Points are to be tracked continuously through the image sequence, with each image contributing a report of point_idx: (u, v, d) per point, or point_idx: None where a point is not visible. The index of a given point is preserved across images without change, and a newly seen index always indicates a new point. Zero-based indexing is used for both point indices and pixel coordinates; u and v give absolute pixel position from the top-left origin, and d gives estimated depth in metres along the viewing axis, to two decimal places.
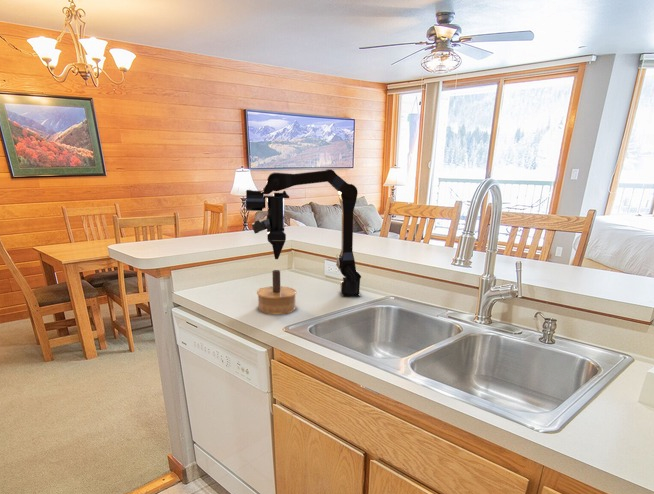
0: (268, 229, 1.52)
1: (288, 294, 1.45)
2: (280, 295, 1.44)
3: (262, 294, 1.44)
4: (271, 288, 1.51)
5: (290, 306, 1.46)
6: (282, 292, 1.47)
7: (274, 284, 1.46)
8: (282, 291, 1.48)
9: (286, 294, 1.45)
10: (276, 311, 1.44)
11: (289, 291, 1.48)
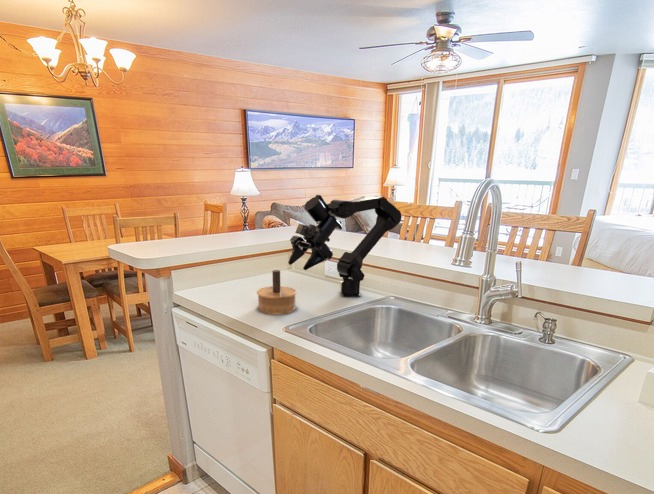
0: (314, 240, 1.46)
1: (288, 294, 1.45)
2: (280, 295, 1.44)
3: (262, 294, 1.44)
4: (271, 288, 1.51)
5: (290, 306, 1.46)
6: (282, 292, 1.47)
7: (274, 284, 1.46)
8: (282, 291, 1.48)
9: (286, 294, 1.45)
10: (276, 311, 1.44)
11: (289, 291, 1.48)
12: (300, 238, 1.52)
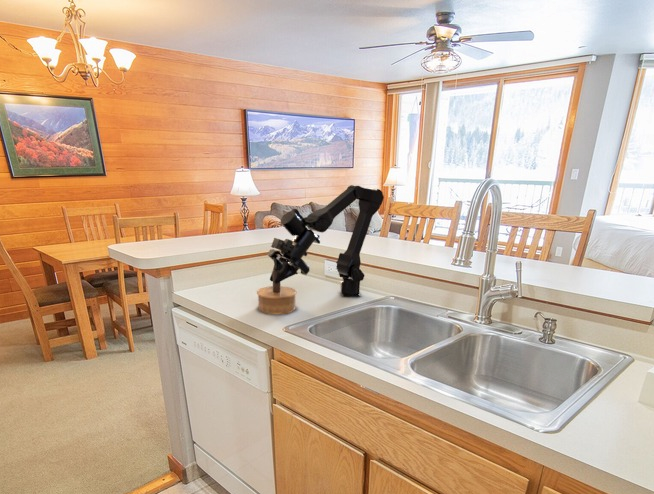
0: (290, 254, 1.42)
1: (288, 294, 1.45)
2: (280, 295, 1.44)
3: (262, 294, 1.44)
4: (271, 288, 1.51)
5: (290, 306, 1.46)
6: (282, 292, 1.47)
7: (274, 284, 1.46)
8: (282, 291, 1.48)
9: (286, 294, 1.45)
10: (276, 311, 1.44)
11: (289, 291, 1.48)
12: (277, 252, 1.49)
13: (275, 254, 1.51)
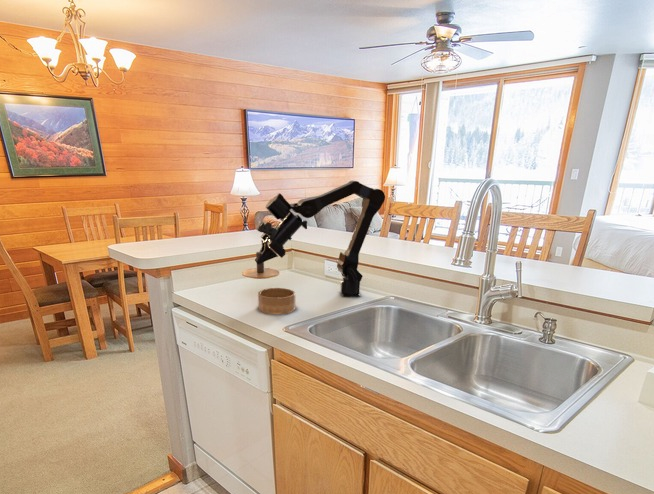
0: (271, 237, 1.48)
1: (267, 275, 1.51)
2: (258, 275, 1.51)
3: (244, 273, 1.53)
4: None
5: (290, 306, 1.46)
6: (264, 273, 1.54)
7: (257, 265, 1.53)
8: (265, 272, 1.55)
9: (265, 275, 1.51)
10: (276, 311, 1.44)
11: (271, 273, 1.54)
12: (267, 235, 1.56)
13: (268, 237, 1.58)
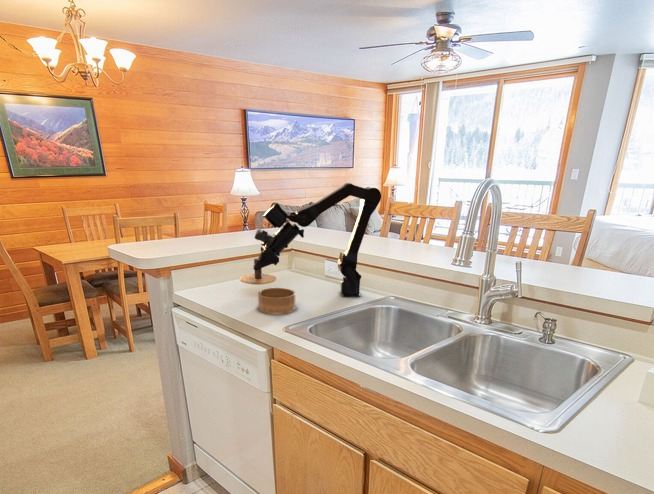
0: (267, 245, 1.53)
1: (262, 281, 1.56)
2: (254, 281, 1.56)
3: (242, 278, 1.59)
4: None
5: (290, 306, 1.46)
6: (261, 279, 1.59)
7: None
8: (262, 278, 1.60)
9: (260, 281, 1.57)
10: (276, 311, 1.44)
11: (268, 279, 1.59)
12: None
13: None
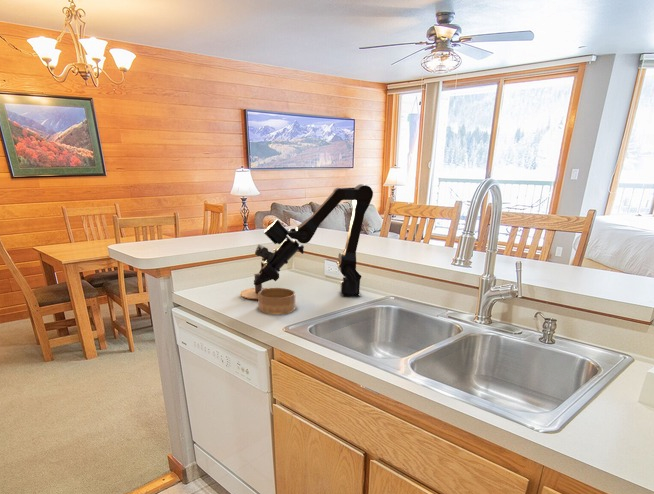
0: (268, 261, 1.56)
1: None
2: (255, 296, 1.59)
3: (242, 293, 1.62)
4: None
5: (290, 306, 1.46)
6: None
7: (255, 286, 1.61)
8: None
9: None
10: (276, 311, 1.44)
11: None
12: None
13: None
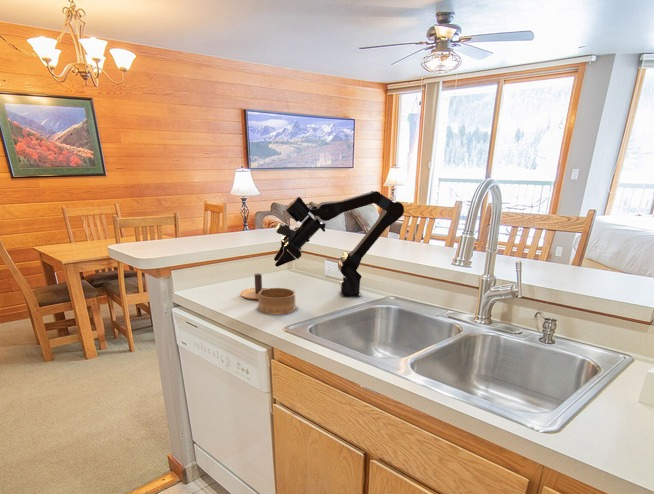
0: (289, 239, 1.53)
1: None
2: (255, 296, 1.59)
3: (242, 293, 1.62)
4: None
5: (290, 306, 1.46)
6: None
7: (255, 286, 1.61)
8: None
9: None
10: (276, 311, 1.44)
11: None
12: None
13: None
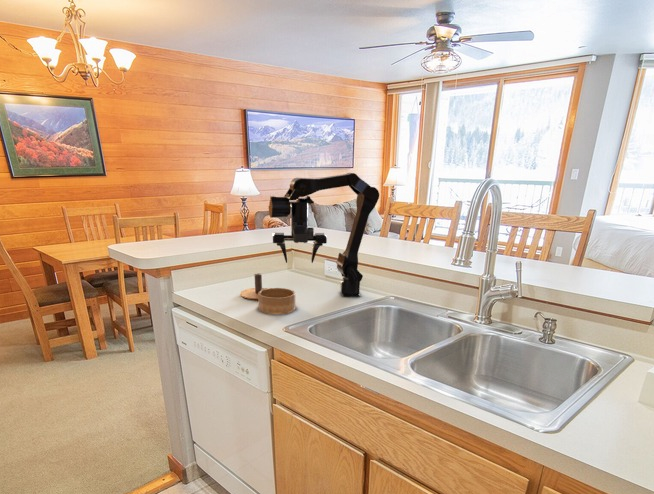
0: None
1: None
2: (255, 296, 1.59)
3: (242, 293, 1.62)
4: None
5: (290, 306, 1.46)
6: None
7: (255, 286, 1.61)
8: None
9: None
10: (276, 311, 1.44)
11: None
12: (284, 236, 1.50)
13: None
